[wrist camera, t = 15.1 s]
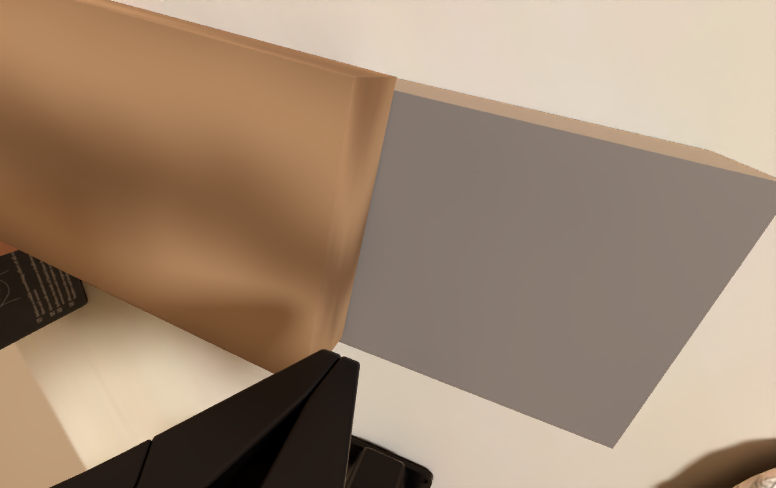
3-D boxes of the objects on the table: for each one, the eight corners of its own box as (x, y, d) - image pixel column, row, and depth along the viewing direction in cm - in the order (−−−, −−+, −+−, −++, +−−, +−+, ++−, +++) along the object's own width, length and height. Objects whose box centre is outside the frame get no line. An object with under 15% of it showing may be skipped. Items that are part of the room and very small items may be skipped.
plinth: (592, 359, 18) (612, 448, 14) (325, 266, 21) (272, 315, 17) (711, 151, 14) (795, 186, 9) (352, 67, 17) (289, 65, 12)
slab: (342, 337, 16) (303, 387, 13) (56, 211, 19) (-19, 231, 17) (396, 76, 11) (353, 77, 9) (10, -27, 15) (-103, -49, 12)
